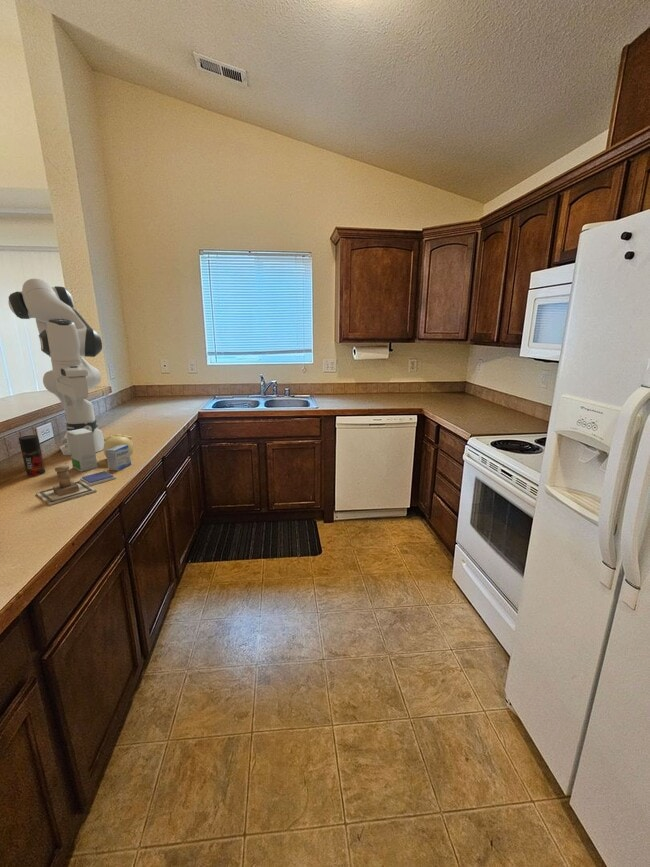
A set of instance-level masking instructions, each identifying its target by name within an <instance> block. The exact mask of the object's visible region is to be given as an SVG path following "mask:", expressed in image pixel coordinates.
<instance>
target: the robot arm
mask: <svg viewBox="0 0 650 867" xmlns="http://www.w3.org/2000/svg"><path fill="white" fill-rule="evenodd" d="M7 298H8V302H7V303H8V306H9V309H10V310H11V312H12V313H13V314H14V315H15V316H16V317H17V318H19V319H20V320H21V319H22V320H31V319H35V322H36V323H35V324H36V327H37V330H38V334H39V335H38V338H39V341H40V350H41V352H42V353H44V354H46V355H47V356H48V357H49V358H50V361H51V368H52V369H50V370H48V371H46V372H44V374H43V377H42V384H43V386H44V388H45V389H46V390H47V391H48V392H49V393H51V394H53V395H54V396H55V397H57V398H58V399H59V402H60V403H61V404H62V406H63V409H64V414H65V418H66V419H65V420H66V423H65V424H66V425H65V426H66V432H65V435H64V436H63V438H61V439H60V443H61V444H62V445H60V451H61V453H62V455H63V456H71V453H70V447H69V441H68V435H67V431H72V430H77V429H82V428H83V429H86V430H89V431H92V432H93V439H94V446H95V453H97V452H100V451H102V450H103V447H104V443H105V441H104V439H105V438H104V435H103V431H102V429H100V428H98V421H97V419H96V417H95V410H94V404H93V403H92V402H91V401H90V400H88V398H89V390H90V389H92V388H95V387H97V386H98V385H100V383H101V382H102V375H101V372H100V370H99V369H98V368H97V367H95V366H94V365H91V364H90V363H89V362H88V361H87V360H86V359H85V358H84V357H88V358H94V357H97V355H99V354H100V353H101V352H102V350H103V343H102V339H101V335H100V334H99V333H98V332H97V331H96V330H94V329H93V328H92V327H91V326H90V325H89V323H88V322H87V321H86V320H85V319H84V318H83V317H82V315H81V313H79V312H78V311H77V309H75V308H74V304H75V302H74V298H73V295H72V294H71V292H69V290H68V289H67V288H66V287H64V286H60V285H59V286H51V285H49V283H48V282H46V281H45V280H42V279H40V278H30V279H27V280H26V281H25V282H24V283H23V284H22V290H21V291H14V292H12V293H10V294H9V296H8V297H7Z"/></svg>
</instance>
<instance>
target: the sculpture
mask: <svg viewBox="0 0 650 867" xmlns="http://www.w3.org/2000/svg"><path fill="white" fill-rule="evenodd" d="M118 445H128V447H129V453H130V457H131V456H132V455H133V453H134V442H133V437H132V436H131V435H126V434H121V433H116V434H114V435H110V436H108V437H105V438H104V447H103V454H104V456H105V458H107V456H106V450H108V449H110V448H113V447H115V446H118Z"/></svg>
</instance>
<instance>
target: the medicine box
mask: <svg viewBox="0 0 650 867" xmlns="http://www.w3.org/2000/svg"><path fill="white" fill-rule="evenodd" d="M106 456H107V457H106ZM106 456H105V457H106V460H107V466H108V470H109V471H114V472H115V471H116V472H117V471H118V472H119V471H121V470H123V469H124V468H126V467H127V468H128V467H129V466H131V465H132V460H131V456H130V453H129V447H128V445H118V446H115V447H113V448H110V449H108V450H106Z"/></svg>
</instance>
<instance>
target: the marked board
mask: <svg viewBox="0 0 650 867" xmlns="http://www.w3.org/2000/svg"><path fill="white" fill-rule="evenodd" d="M73 482H74V481H73ZM74 483H76V484H77V485H78V486H79V491H77V492H73V493H70V494H66V495H63V496H58V495H57V494H56V493H54V491H53V487H52V488H49V489H45V490H41V491H38V492H35V494H36V495H37V496H38V497H39V498H40V500H43V501H44V503H46V504H47V505H48V506H50V507H51V506H53V505H56V504H61V503H63V502H67V501H70V500H73V499H77V498H81V497H84V496H87V495H90V494H93V493H96V492H97V490H96V489H95V488H93V487H92V485H91V486H89V485H87V484H86V483H84V482H83V481H81V480H78V481H75V482H74Z"/></svg>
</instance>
